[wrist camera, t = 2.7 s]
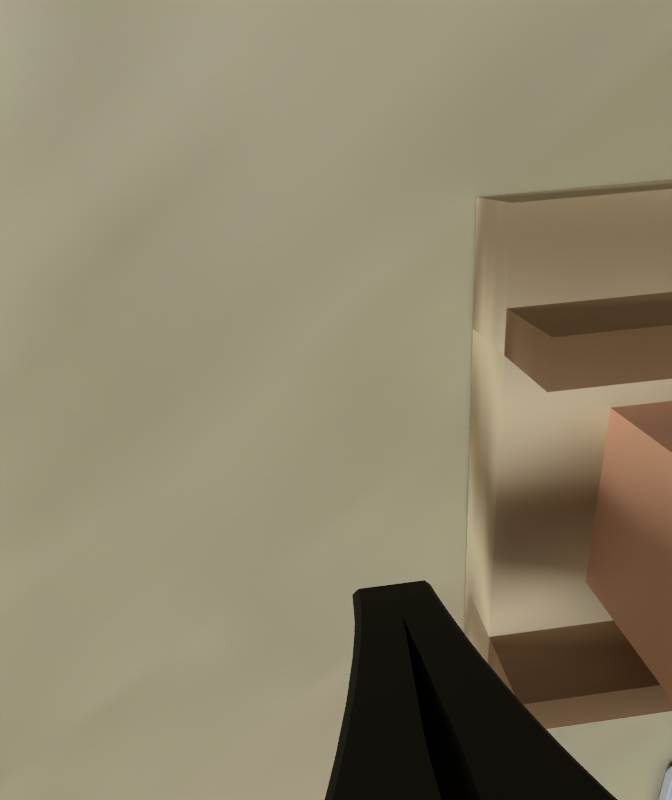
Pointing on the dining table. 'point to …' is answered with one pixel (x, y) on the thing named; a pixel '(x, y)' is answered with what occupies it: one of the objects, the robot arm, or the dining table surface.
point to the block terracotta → (637, 532)
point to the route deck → (559, 433)
